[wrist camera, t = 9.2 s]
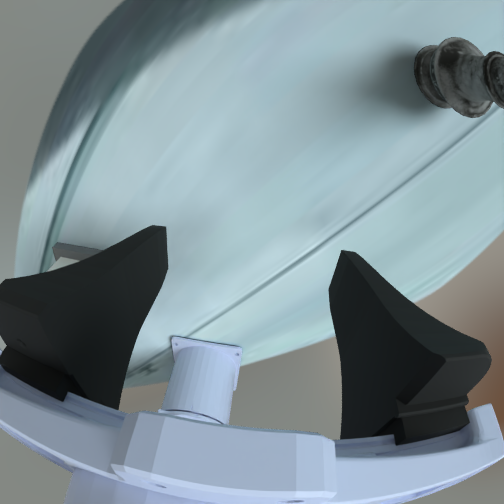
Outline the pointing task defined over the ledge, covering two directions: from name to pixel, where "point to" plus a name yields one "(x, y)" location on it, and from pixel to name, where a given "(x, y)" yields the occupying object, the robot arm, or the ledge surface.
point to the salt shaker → (460, 76)
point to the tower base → (70, 254)
